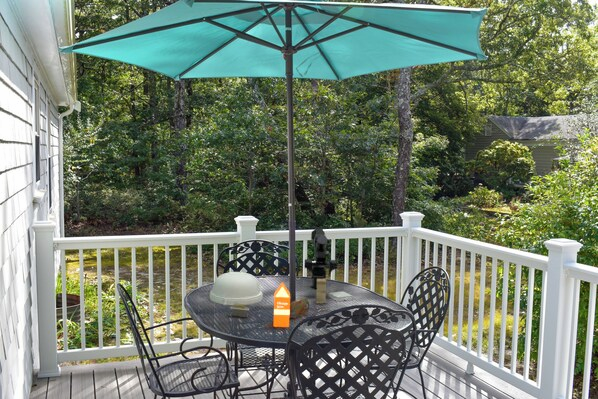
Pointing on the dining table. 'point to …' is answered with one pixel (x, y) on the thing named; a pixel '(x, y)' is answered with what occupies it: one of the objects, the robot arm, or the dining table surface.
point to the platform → (239, 310)
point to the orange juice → (281, 307)
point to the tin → (299, 308)
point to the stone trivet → (339, 295)
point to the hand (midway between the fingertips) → (320, 276)
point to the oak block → (321, 291)
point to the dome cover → (236, 289)
